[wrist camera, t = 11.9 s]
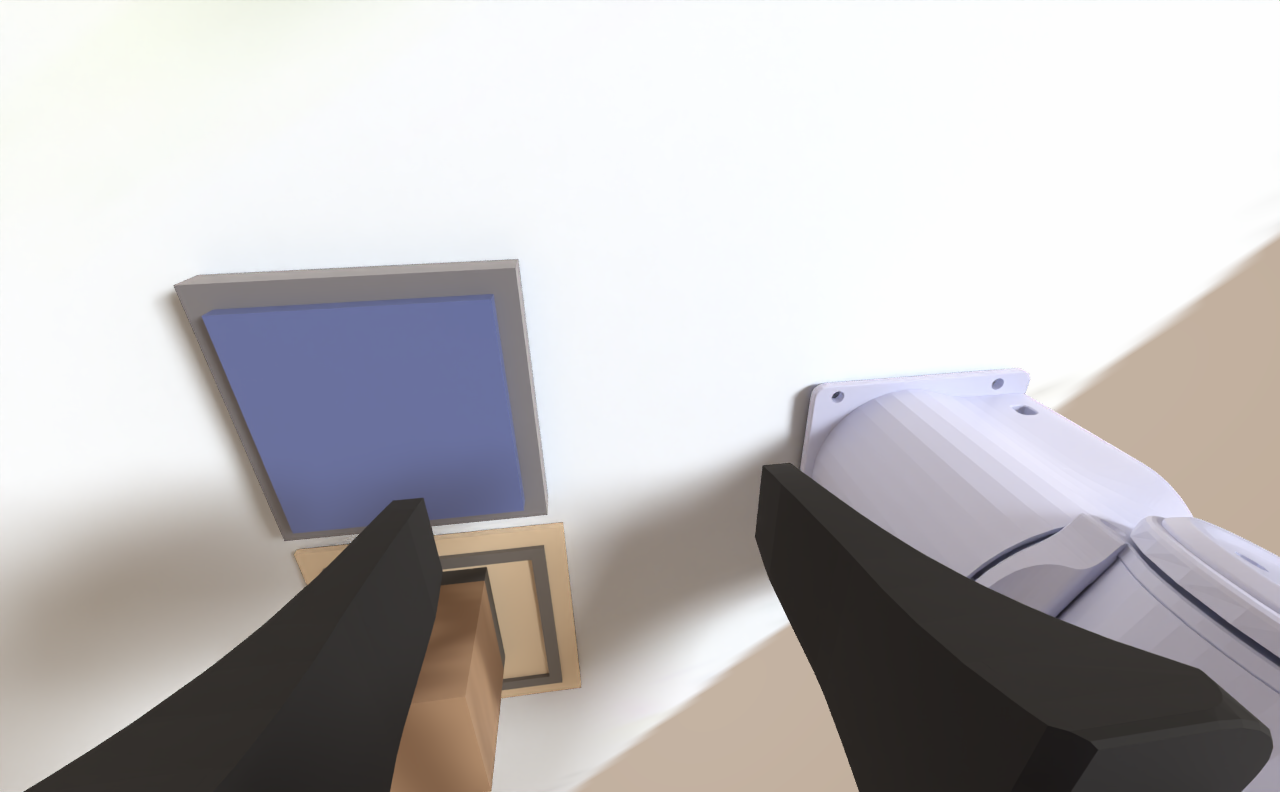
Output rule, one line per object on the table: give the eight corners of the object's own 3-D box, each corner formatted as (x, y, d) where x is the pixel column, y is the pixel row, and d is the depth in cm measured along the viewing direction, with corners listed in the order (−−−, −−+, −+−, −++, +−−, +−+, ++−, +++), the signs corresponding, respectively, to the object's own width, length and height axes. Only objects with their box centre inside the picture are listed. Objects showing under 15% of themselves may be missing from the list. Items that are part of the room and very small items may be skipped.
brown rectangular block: (486, 566, 23) (465, 696, 18) (505, 656, 26) (491, 791, 21) (392, 577, 23) (342, 712, 18) (421, 666, 26) (385, 807, 21)
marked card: (562, 522, 23) (563, 530, 23) (580, 682, 28) (581, 690, 28) (297, 549, 22) (291, 558, 22) (365, 710, 27) (362, 720, 27)
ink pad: (518, 259, 18) (514, 272, 16) (547, 496, 23) (546, 524, 21) (198, 274, 17) (160, 291, 15) (298, 520, 21) (277, 552, 20)
